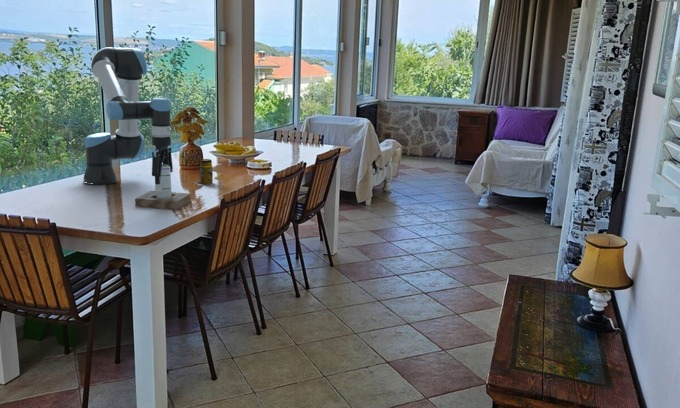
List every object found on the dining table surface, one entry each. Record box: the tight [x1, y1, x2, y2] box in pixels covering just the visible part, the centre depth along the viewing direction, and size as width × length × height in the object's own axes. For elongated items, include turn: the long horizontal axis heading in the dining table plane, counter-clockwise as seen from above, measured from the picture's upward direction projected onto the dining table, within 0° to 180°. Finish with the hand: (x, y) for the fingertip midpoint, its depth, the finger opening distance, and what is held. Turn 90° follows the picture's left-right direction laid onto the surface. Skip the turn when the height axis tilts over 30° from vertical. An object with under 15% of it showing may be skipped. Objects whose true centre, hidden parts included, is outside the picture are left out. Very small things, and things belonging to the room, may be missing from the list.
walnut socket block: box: [134, 190, 191, 211], centre depth 253 cm, size 18×15×4 cm
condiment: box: [194, 158, 215, 186], centre depth 293 cm, size 7×8×12 cm
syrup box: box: [156, 163, 172, 199], centre depth 251 cm, size 6×6×14 cm
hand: (163, 189), depth 252 cm, fingers closed on syrup box, 8 cm apart
